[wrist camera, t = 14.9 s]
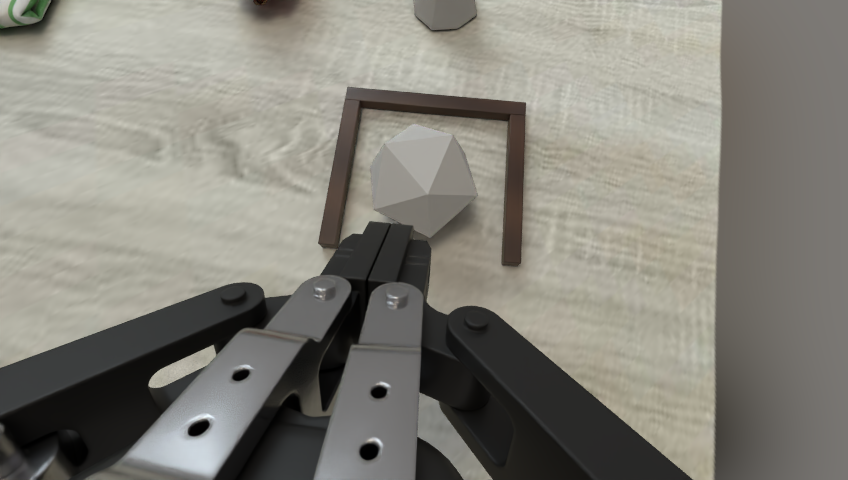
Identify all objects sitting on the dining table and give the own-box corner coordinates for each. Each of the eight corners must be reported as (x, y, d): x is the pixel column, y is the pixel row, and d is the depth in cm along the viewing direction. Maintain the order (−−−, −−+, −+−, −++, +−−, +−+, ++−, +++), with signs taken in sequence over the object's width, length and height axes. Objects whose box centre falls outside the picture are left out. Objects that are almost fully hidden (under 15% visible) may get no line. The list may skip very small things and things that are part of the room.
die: (464, 155, 37) (404, 82, 30) (512, 205, 31) (452, 127, 24) (402, 212, 39) (332, 155, 32) (437, 269, 32) (360, 215, 25)
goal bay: (517, 266, 33) (521, 263, 32) (321, 246, 34) (317, 243, 33) (522, 109, 38) (526, 102, 37) (349, 94, 38) (347, 86, 37)
